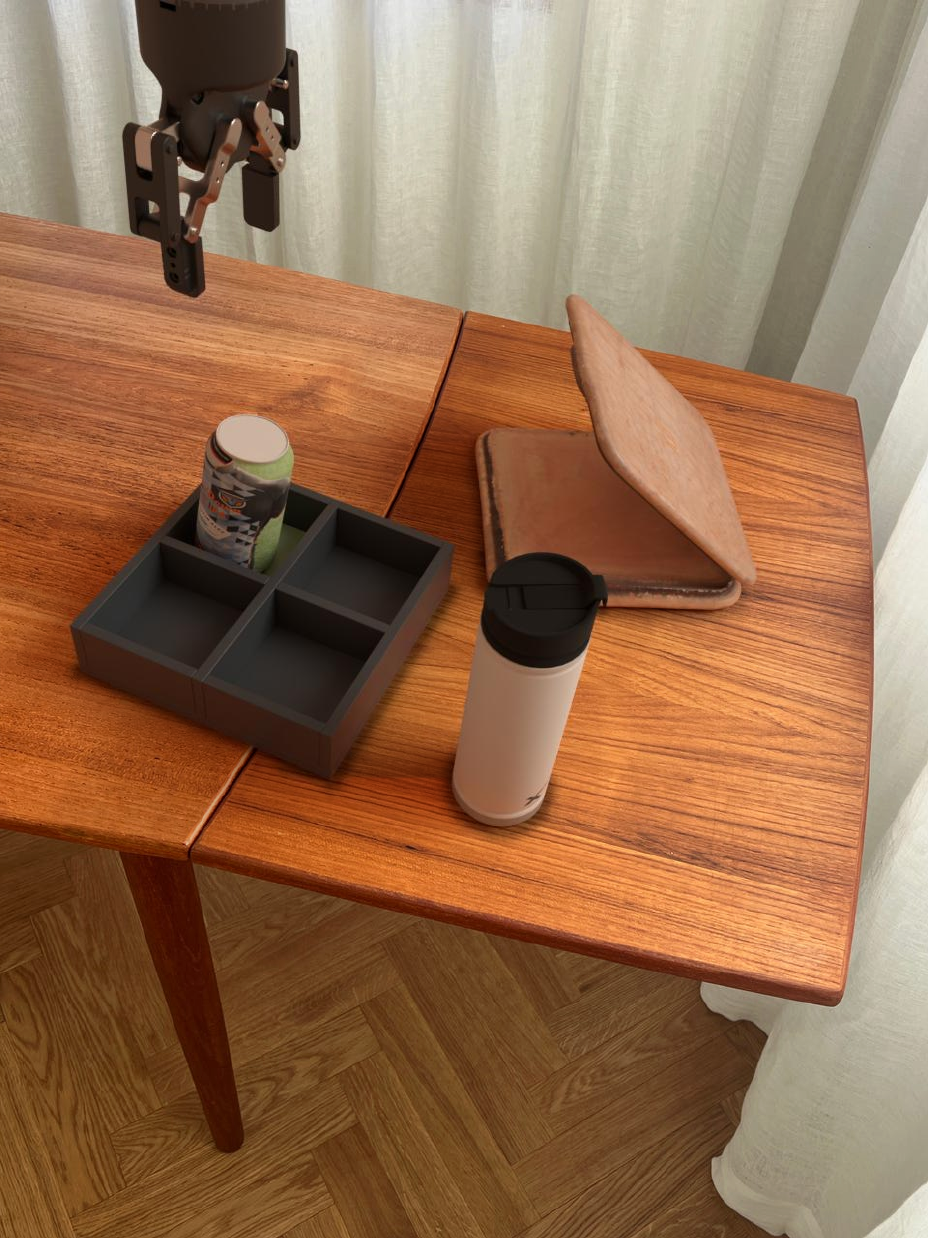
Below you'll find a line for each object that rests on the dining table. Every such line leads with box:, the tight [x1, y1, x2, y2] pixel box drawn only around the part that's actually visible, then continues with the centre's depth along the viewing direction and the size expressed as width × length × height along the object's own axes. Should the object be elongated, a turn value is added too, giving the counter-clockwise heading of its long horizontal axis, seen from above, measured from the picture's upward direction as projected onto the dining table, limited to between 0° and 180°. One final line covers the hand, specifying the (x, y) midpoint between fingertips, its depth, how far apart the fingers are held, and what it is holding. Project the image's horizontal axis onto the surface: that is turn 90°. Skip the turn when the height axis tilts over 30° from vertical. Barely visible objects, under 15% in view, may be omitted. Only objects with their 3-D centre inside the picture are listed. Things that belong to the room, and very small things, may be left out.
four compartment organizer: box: [69, 481, 456, 781], centre depth 79 cm, size 19×19×5 cm
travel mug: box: [451, 552, 608, 828], centre depth 67 cm, size 6×7×20 cm
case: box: [474, 293, 757, 611], centre depth 86 cm, size 20×21×16 cm
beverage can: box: [195, 413, 295, 573], centre depth 79 cm, size 6×7×12 cm
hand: (225, 257), depth 67 cm, fingers open, 8 cm apart
